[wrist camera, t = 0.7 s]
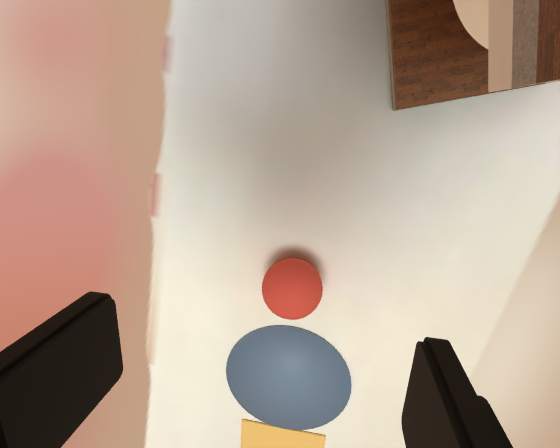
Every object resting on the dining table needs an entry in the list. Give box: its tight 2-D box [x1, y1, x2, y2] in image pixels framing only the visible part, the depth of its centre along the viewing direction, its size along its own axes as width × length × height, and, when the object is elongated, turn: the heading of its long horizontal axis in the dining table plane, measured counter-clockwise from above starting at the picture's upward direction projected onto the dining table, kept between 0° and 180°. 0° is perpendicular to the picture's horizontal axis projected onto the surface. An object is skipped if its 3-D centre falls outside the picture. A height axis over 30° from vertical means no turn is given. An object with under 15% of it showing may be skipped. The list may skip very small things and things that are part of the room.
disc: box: [226, 326, 351, 430], centre depth 36 cm, size 14×14×1 cm
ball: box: [262, 258, 322, 320], centre depth 30 cm, size 6×6×6 cm
